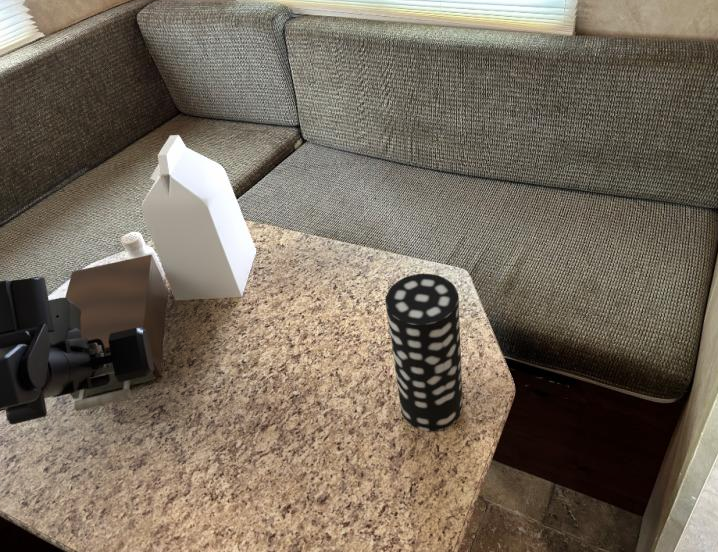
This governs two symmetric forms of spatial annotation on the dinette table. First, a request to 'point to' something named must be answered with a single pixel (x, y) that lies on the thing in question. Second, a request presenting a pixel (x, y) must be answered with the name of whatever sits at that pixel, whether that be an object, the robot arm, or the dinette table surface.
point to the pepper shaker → (138, 248)
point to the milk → (197, 225)
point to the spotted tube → (426, 349)
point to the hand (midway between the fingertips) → (97, 364)
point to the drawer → (108, 397)
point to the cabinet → (122, 302)
